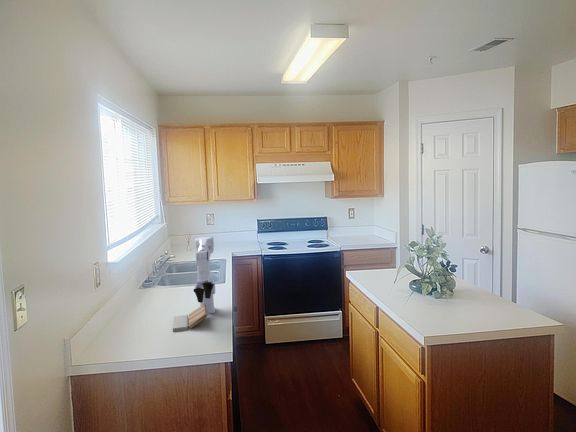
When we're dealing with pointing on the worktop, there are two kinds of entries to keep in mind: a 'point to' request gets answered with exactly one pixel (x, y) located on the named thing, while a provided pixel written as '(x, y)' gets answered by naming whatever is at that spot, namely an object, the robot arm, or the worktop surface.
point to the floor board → (180, 323)
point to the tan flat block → (197, 316)
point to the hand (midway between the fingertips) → (204, 300)
